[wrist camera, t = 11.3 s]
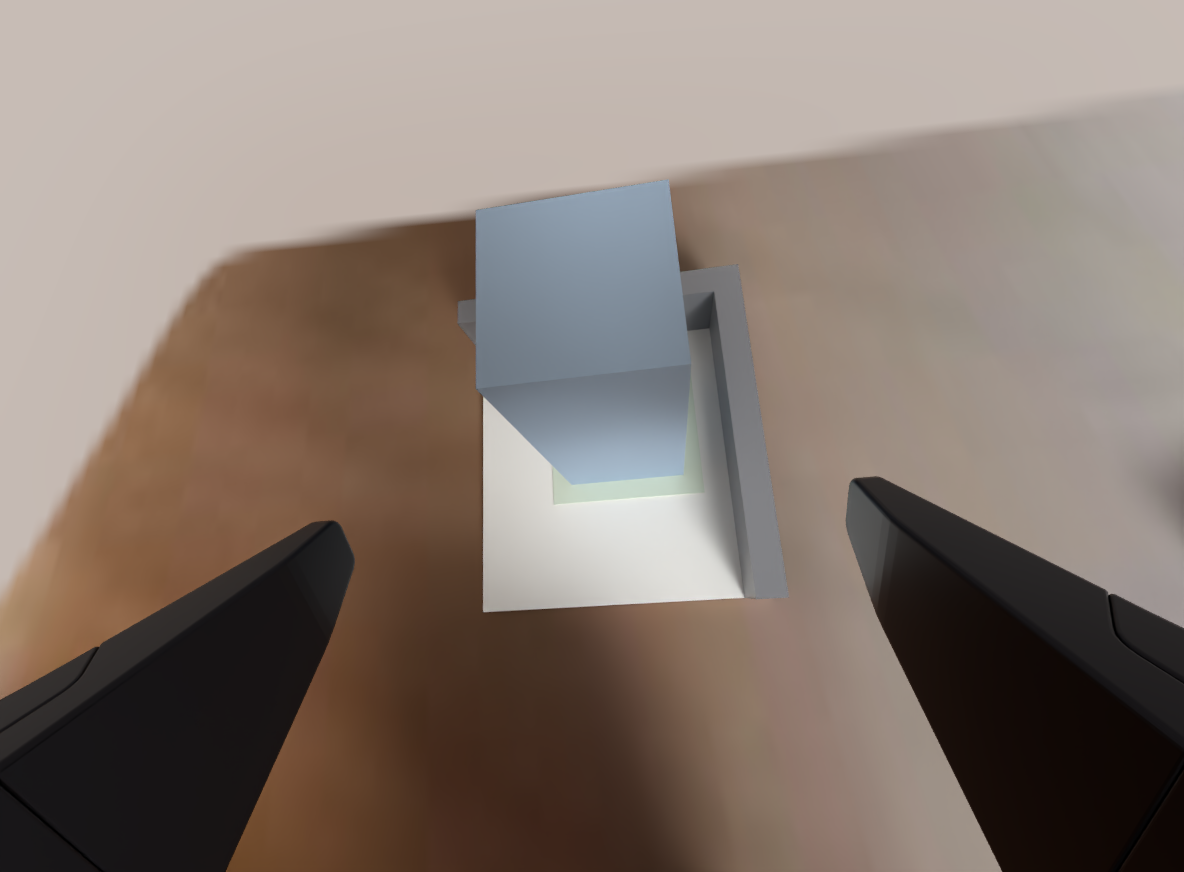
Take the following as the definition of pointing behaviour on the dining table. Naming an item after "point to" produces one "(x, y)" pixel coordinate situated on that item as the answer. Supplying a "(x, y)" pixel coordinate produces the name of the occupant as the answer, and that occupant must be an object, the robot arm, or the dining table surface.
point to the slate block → (586, 330)
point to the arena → (643, 492)
